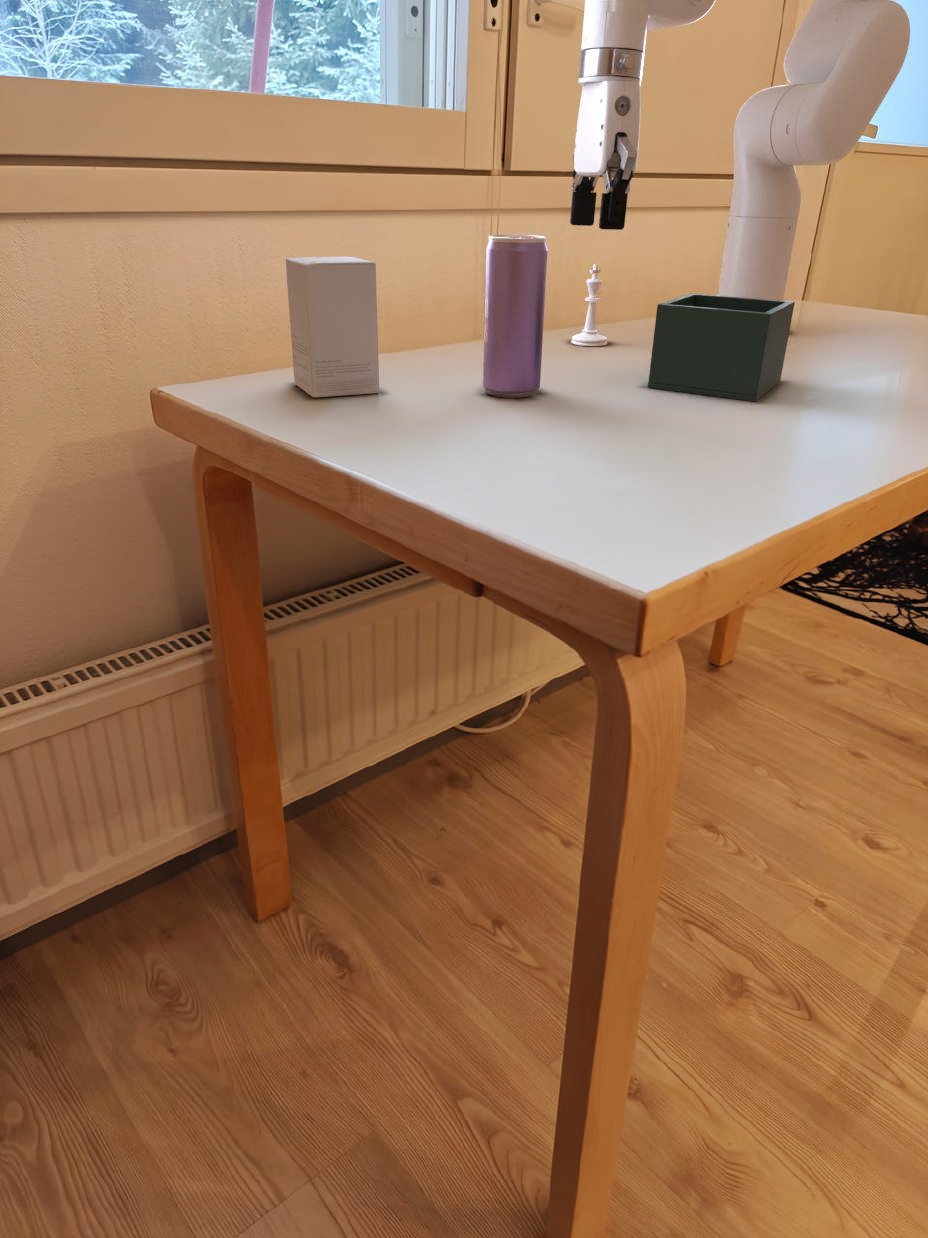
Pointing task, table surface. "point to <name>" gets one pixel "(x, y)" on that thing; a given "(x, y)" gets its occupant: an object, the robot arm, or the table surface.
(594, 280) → the chess piece
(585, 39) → the robot arm
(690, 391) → the bin
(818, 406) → the table surface
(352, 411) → the table surface
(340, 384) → the white packaging box
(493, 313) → the beverage can
